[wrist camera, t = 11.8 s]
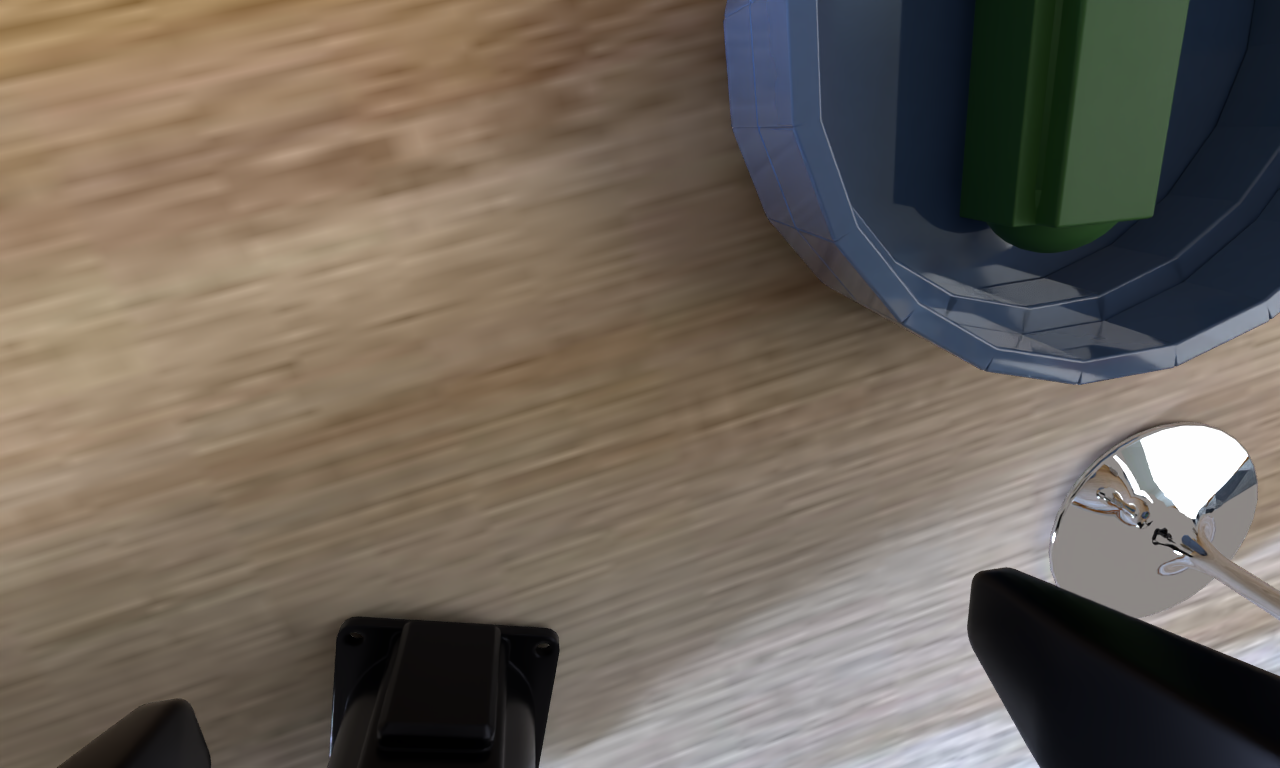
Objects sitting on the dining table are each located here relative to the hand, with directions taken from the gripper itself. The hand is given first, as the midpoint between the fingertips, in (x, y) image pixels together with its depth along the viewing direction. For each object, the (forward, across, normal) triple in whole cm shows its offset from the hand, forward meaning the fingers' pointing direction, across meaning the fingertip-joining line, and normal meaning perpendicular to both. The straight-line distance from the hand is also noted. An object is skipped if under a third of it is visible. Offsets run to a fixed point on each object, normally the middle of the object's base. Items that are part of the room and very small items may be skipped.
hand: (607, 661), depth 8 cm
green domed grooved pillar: (+11, -12, -7) cm, 18 cm away
